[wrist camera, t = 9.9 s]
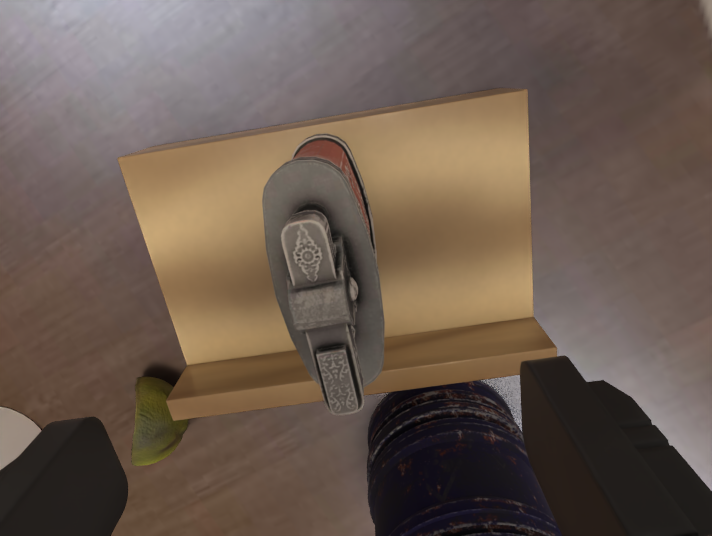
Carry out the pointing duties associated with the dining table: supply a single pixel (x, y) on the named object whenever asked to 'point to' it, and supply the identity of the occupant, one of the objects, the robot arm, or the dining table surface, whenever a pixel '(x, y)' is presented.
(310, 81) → the dining table surface
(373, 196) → the shelf
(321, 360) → the lighter
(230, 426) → the dining table surface
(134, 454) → the lime
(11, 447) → the candle
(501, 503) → the dark blue cylinder
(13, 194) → the dining table surface
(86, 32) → the dining table surface
